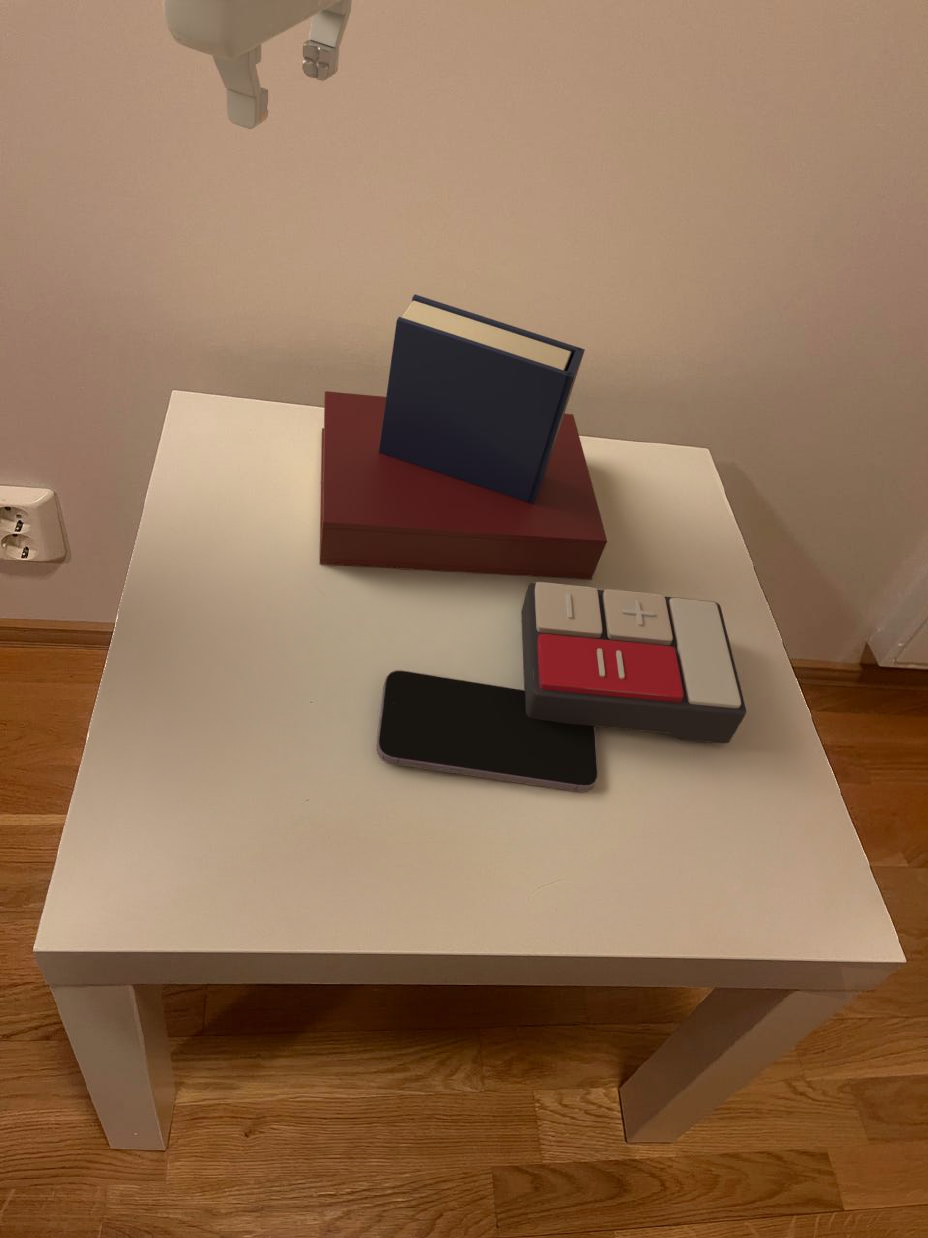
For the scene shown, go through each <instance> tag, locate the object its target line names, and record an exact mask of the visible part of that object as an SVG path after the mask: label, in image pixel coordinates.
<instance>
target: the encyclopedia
mask: <svg viewBox="0 0 928 1238" xmlns="http://www.w3.org/2000/svg"><path fill="white" fill-rule="evenodd" d="M323 398H324V399H323V400H324V401H323V402H324V404H323V427H322V428H321V446H320V447H321V449H320V451H321V452H320V453H321V454H320V502H319V503H320V506H319V507H320V513H319V514H320V515H319V565H327V566H328V565H329V566H330V565H331V566H345V567H346V566H347V567H362V568H363V567H364V568H367V567H368V568H381V569H382V568H383V569H396V570H397V569H399V570H413V571H414V570H415V571H417V570H419V571H432V572H433V571H434V572H436V571H437V572H452V573H468V574H484V575H485V574H486V575H502V576H519V577H520V576H521V577H522V576H523V577H540V578H555V579H558V578H559V579H573V580H575V579H576V580H589V581H590V580H593V577H594V574H595V572H596V570H597V567H598V565H599V562H600V561H601V557H602V555H603V553H604V550H605V548H606V546H607V543H608V538H607V535H606V530H605V527H604V522H603V519H602V516H601V512H600V508H599V505H598V501H597V496H596V494H595V490H594V489H595V488H594V485H593V483H592V479H591V475H590V471H589V467H588V463H587V460H586V456H585V452H584V449H583V445H582V441H581V438H580V434H579V430H578V426H577V423H576V418H575V416H574V414H572V413H565V414H564V417H563V420H562V423H561V426H560V430H559V433H558V436H557V439H556V442H555V445H554V448H553V452H552V455H551V458H550V461H549V464H548V467H547V470H546V474H545V476H544V479H543V482H542V484H541V487H540V490H539V492H538V495H537V498H536V500H535V503H534V504H531V503H528V502H525V501H522V500H519V499H516V498H513V497H510V496H507V495H504V494H501V493H498V492H495V491H492V490H489V489H486V488H483V487H480V486H477V485H474V484H471V483H468V482H465V481H462V480H459V479H456V478H453V477H450V476H447V475H444V474H441V473H438V472H436V471H433V470H430V469H427V468H424V467H421V466H418V465H415V464H412V463H409V462H406V461H403V460H400V459H397V458H394V457H391V456H388V455H385V454H382V453H379V446H380V439H381V431H382V424H383V417H384V409H385V402H386V396H382V395H371V394H360V393H350V392H349V393H348V392H339V391H327V390H325V391H324V397H323Z"/></svg>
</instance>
